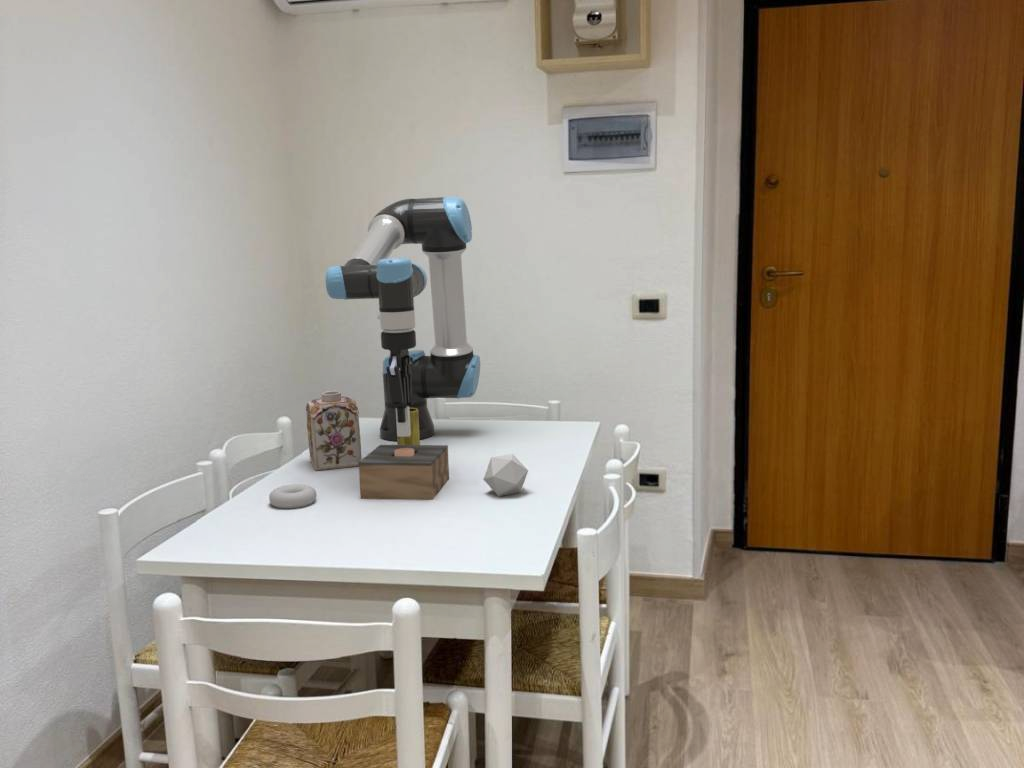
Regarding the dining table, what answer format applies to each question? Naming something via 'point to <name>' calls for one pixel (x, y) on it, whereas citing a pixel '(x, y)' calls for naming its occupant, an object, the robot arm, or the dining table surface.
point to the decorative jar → (333, 431)
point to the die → (505, 475)
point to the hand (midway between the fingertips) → (404, 435)
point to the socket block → (404, 472)
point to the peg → (404, 452)
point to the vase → (414, 426)
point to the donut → (292, 496)
